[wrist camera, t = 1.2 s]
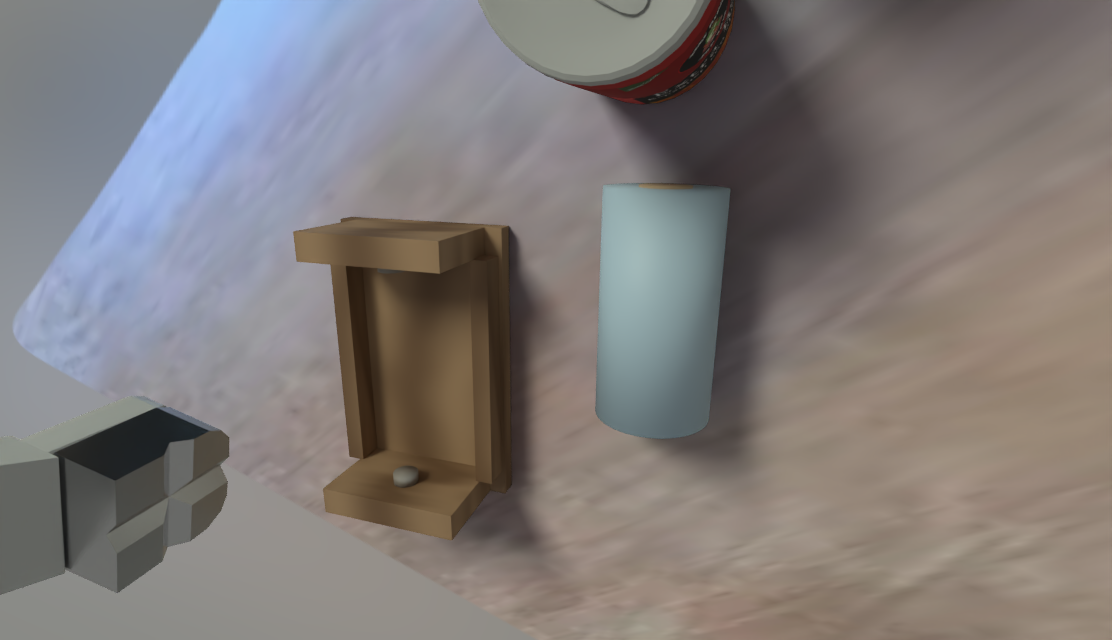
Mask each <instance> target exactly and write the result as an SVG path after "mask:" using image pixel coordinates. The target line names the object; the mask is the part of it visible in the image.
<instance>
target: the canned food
mask: <svg viewBox="0 0 1112 640" xmlns="http://www.w3.org/2000/svg"><path fill="white" fill-rule="evenodd" d="M478 2H479V4H480V6H481V8H482V10H483V12H484V14H485V16H486V18H487V20H488V22H489V24H490V26H491V27H492V28H493V30H494V31H495V32H496V34H497V35H498V36H499V38H500V39H501V41H502V42H503V43H504V44H505V45H506V46H507V47H508V48H509V49H510V50H511V51H512V52H513V53H514V54H515V55H517V56H518V57H519V58H520V59H521V60H522V61H524V62H525V63H526V64H527V65H529V66H531V67H532V68H534V69H536V70H537V71H539V72H541V73H542V74H544V75H546V76H548V77H551V78H554V79H555V80H558V81H560V82H563V83H566V84H569V85H572V86H575V87H578V88H581V89H584V90H588V91H591V92H594V93H597V94H601V95H604V96H607V97H610V98H614V99H617V100H620V101H623V102H628V103H636V104H650V103H659V102H663V101H666V100H669V99H672V98H675V97H677V96H679V95H681V94H683V93H684V92H686V91H688V90H690V89H691V88H692V87H694V86H695V85H696V84H697V83H699V82H700V81H701V80H702V79H703V78H704V77H705V76H706V75H707V74H708V73H709V71H710V70H711V69H712V68H713V67H714V65H715V64H716V63H717V61H718V59H719V57H720V56H721V54H722V52H723V50H724V49H725V47H726V44H727V41H728V38H729V35H730V32H731V29H732V24H733V18H734V11H735V0H478Z"/></svg>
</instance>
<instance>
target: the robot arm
mask: <svg viewBox="0 0 1112 640" xmlns="http://www.w3.org/2000/svg"><path fill="white" fill-rule="evenodd" d="M228 457H229V437H228V436H227V435H226V434H225V433H224V432H222V431H221V430H219V429H217V428H215V427H213V426H211V425H208V424H206V423H204V422H202V421H199V420H197V419H195V418H193V417H191V416H188V415H186V414H184V413H182V412H179V411H177V410H175V409H173V408H171V407H166V406H164V405H162V404H160V403H158V402H156V401H153V400H151V399H149V398H147V397H145V396H129V397H126V398H123V399H121V400H118V401H116V402H113V403H111V404H108V405H106V406H103V407H101V408H99V409H96V410H93V411H91V412H88V413H86V414H83V415H81V416H78V417H76V418H73V419H71V420H68V421H66V422H63V423H61V424H58V425H56V426H53V427H51V428H48V429H46V430H43V431H41V432H38V433H36V434H33V435H31V436H28V437H26V438H23V439H21V440H20V439H17V438H15V437H13V436H7V437H0V595H1V594H4V593H7V592H10V591H13V590H16V589H19V588H22V587H25V586H28V585H31V584H34V583H37V582H40V581H43V580H46V579H49V578H52V577H55V576H58V575H61V574H64V573H65V569H66V570H68V571H70V572H72V573H75V574H77V575H79V576H81V577H83V578H85V579H87V580H90V581H92V582H94V583H96V584H98V585H100V586H103V587H105V588H107V589H109V590H111V591H114V592H116V593H118V592H120V591H121V590H122V589H124V588H125V587H127V586H128V585H130V584H131V583H132V582H134V581H135V580H137V579H138V578H139V577H141V576H142V575H144V574H145V573H146V572H148V571H149V570H151V569H152V568H153V567H155V566H156V565H158V564H159V563H161V562H162V560H163V558H164V555H165V553H166V550H167V547H169V546H173V545H177V544H181V543H185V542H189V541H191V540H192V539H194V538H195V537H196V536H198V535H199V534H200V533H202V532H203V531H204V530H206V529H207V528H208V527H209V526H210V524H211V523H212V522H213V520H214V519H215V518H216V516H217V515H218V514H219V513H220V511H221V509H222V507H223V504H224V501H225V498H226V496H227V484H228V483H227V482H228V481H227V479H226V477H225V475H224V473H223V470H222V469H221V466H220V465H221V464H222V463H223V462H224V461H225V460H226V459H227V458H228Z"/></svg>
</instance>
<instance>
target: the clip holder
mask: <svg viewBox="0 0 1112 640" xmlns="http://www.w3.org/2000/svg"><path fill="white" fill-rule="evenodd" d="M293 234H294V242H295V251H296V259H297V262H308V263H320V264H331V274H332V284H333V294H334V304H335V314H336V324H337V334H338V344H339V354H340V364H341V374H342V384H343V395H344V405H345V415H346V425H347V435H348V445H349V455H350V457H355V458H360V460H358V461H357V462H356V463H355V464H353V465H352V466H351V467H350V468H348V469H347V470H346V471H345V472H343V473H342V474H341V475H340V476H338V477H337V478H336V479H335V480H333V481H332V482H331V483H330V484H328V485H327V486H326V487H325V488H323V492H324V501H325V509H326V512H329V513H334V514H338V515H342V516H347V517H351V518H355V519H360V520H364V521H369V522H373V523H377V524H382V525H386V526H391V527H395V528H399V529H404V530H408V531H412V532H417V533H421V534H426V535H430V536H434V537H439V538H443V539H448V540H453V539H454V537H455V536H456V535H457V533H458V532H459V531H460V529H461V528H462V527H463V525H464V524H465V523H466V521H467V520H468V519H469V518H470V516H471V515H472V514H473V512H474V511H475V510H476V508H477V507H478V506H479V504H480V503H481V502H482V500H483V499H484V498H485V496H486V495H487V494H488V493H489V491H490V490H491V491H496V492H501V493H506V492H507V490H508V489H509V488H510V486H511V485H512V484H511V395H510V307H509V226H502V225H484V224H466V223H448V222H431V221H413V220H395V219H377V218H360V217H349V218H343V219H341V223H336V224H331V225H325V226H320V227H315V228H310V229H304V230H299V231H294V232H293Z"/></svg>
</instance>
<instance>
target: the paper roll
mask: <svg viewBox="0 0 1112 640" xmlns="http://www.w3.org/2000/svg"><path fill="white" fill-rule="evenodd" d="M730 191H731V189H729V188H725V187H719V186H709V185H694V184H671V183H624V184H609V185H604V186H603V201H602V230H601V260H600V289H599V319H598V348H597V378H596V407H595V411H596V414H597V416H598V418H599V419H600V420H601V421H602V422H603V423H605V424H606V425H608V426H609V427H611V428H613V429H615V430H618V431H620V432H623V433H626V434H630V435H634V436H639V437H645V438H657V439H667V438H678V437H684V436H688V435H691V434H694V433H696V432H699V431H700V430H702V429H703V428H704V427H705V426H706V425H707V424H708V421H709V413H710V402H711V392H712V381H713V370H714V360H715V349H716V339H717V328H718V318H719V307H720V296H721V286H722V275H723V265H724V254H725V244H726V233H727V223H728V212H729V201H730Z"/></svg>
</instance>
